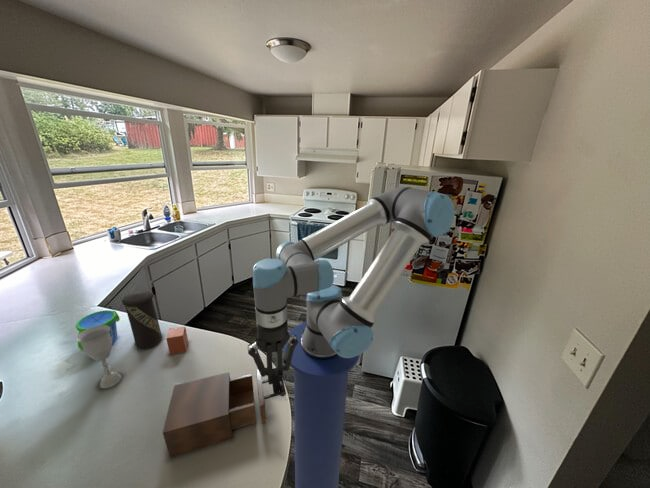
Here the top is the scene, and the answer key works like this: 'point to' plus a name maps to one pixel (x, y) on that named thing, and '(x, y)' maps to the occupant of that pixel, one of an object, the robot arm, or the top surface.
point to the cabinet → (198, 415)
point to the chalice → (99, 351)
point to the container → (142, 318)
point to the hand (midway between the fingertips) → (275, 389)
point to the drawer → (248, 400)
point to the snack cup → (99, 323)
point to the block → (177, 340)
